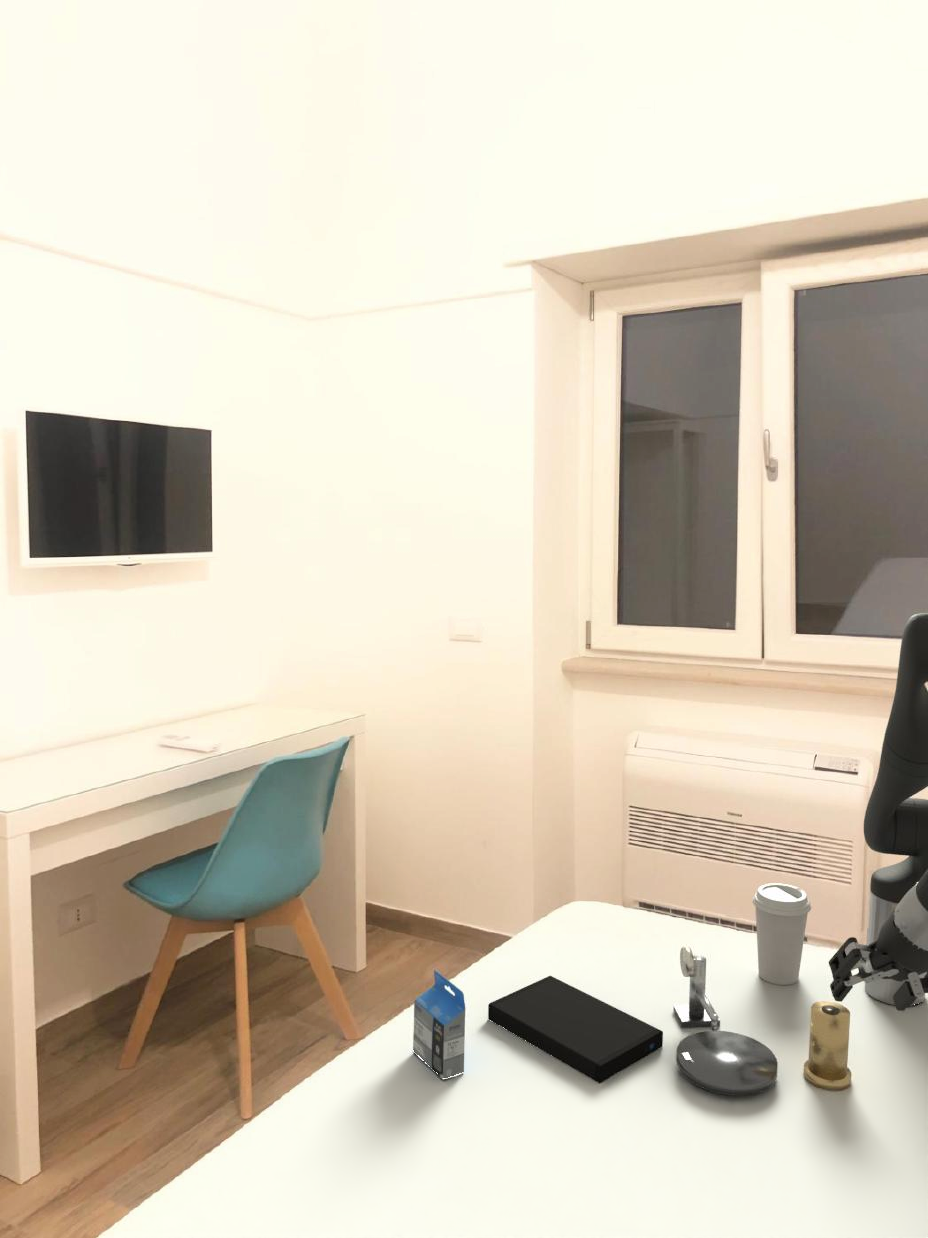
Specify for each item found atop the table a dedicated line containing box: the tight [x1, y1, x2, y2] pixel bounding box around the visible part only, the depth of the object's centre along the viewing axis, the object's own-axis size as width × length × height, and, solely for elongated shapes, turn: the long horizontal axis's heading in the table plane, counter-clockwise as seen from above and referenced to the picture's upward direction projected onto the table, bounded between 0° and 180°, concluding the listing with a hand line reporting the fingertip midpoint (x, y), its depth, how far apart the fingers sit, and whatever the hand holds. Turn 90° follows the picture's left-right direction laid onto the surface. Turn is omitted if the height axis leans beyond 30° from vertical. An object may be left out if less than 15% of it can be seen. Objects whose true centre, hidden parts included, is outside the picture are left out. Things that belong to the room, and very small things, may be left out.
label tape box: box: [412, 969, 466, 1079], centre depth 150 cm, size 9×4×12 cm, turn 32°
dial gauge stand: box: [673, 946, 721, 1031], centre depth 159 cm, size 12×6×12 cm, turn 3°
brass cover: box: [802, 1000, 852, 1092], centre depth 146 cm, size 6×6×10 cm
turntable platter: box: [675, 1030, 779, 1096], centre depth 148 cm, size 14×14×2 cm
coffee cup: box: [752, 882, 812, 986], centre depth 176 cm, size 10×10×15 cm
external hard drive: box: [487, 975, 664, 1085], centre depth 159 cm, size 14×23×3 cm, turn 41°
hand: (866, 1000), depth 134 cm, fingers open, 8 cm apart
